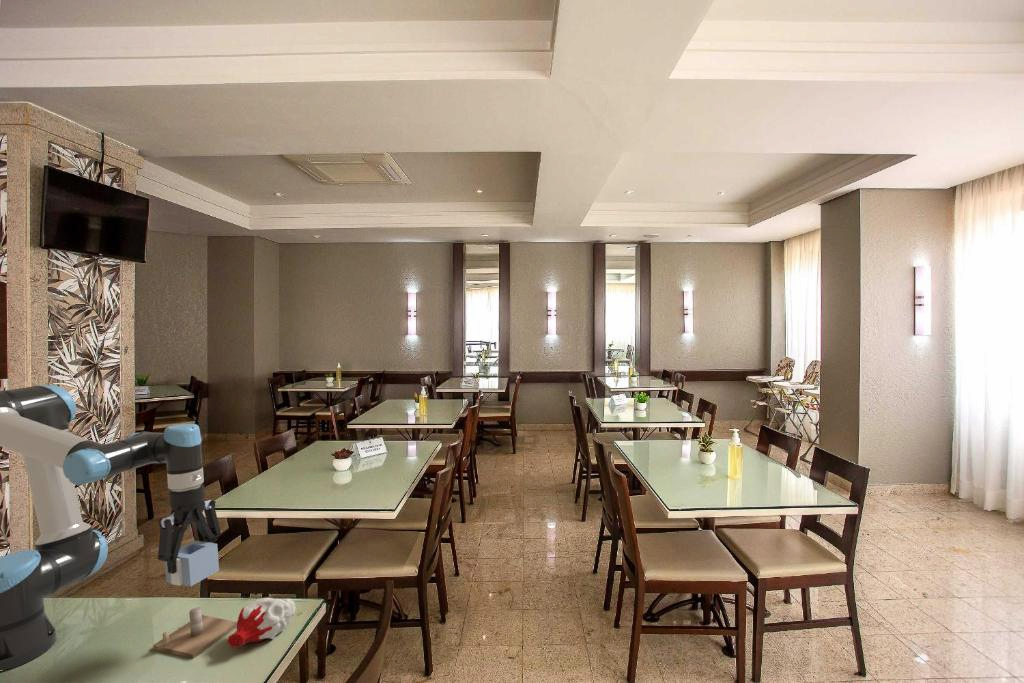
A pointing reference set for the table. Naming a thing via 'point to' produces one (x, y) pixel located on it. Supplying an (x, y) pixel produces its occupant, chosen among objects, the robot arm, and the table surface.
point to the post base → (199, 641)
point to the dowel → (165, 639)
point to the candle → (262, 620)
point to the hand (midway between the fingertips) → (193, 575)
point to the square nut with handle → (196, 562)
